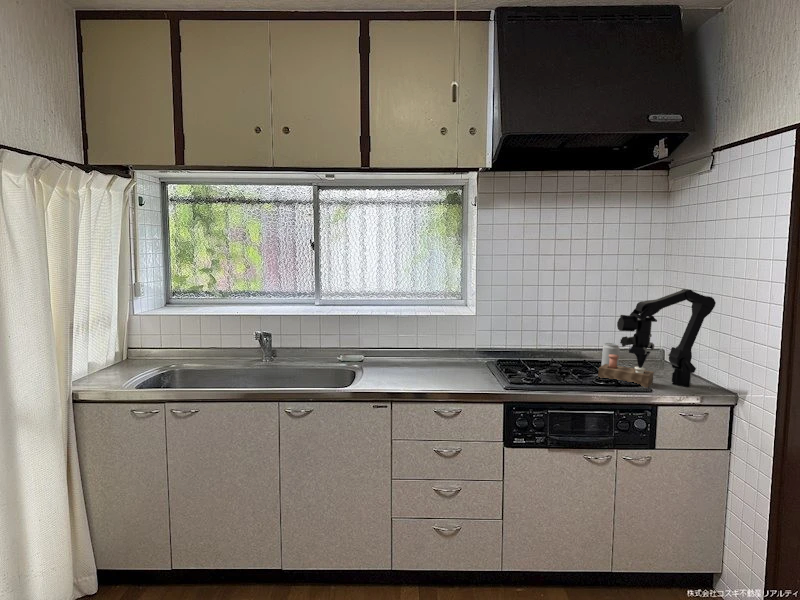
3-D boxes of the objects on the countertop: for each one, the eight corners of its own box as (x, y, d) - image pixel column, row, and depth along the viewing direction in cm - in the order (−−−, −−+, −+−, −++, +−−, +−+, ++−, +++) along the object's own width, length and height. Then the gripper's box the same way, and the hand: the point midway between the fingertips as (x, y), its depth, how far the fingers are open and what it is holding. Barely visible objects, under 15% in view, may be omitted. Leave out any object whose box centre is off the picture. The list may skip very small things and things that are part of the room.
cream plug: (645, 381, 221) (646, 367, 220) (642, 383, 217) (644, 369, 217) (634, 379, 223) (635, 366, 222) (632, 381, 220) (633, 367, 219)
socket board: (652, 383, 221) (653, 371, 221) (647, 387, 214) (648, 375, 213) (604, 374, 234) (605, 363, 233) (597, 378, 226) (598, 367, 225)
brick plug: (619, 368, 227) (620, 355, 226) (616, 370, 223) (617, 356, 223) (609, 367, 229) (610, 353, 229) (606, 368, 226) (607, 355, 225)
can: (615, 371, 241) (617, 345, 240) (599, 368, 246) (601, 343, 245) (619, 368, 247) (621, 343, 246) (603, 365, 252) (605, 341, 251)
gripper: (628, 326, 230) (625, 361, 232) (617, 331, 215) (614, 368, 217) (656, 330, 223) (652, 365, 225) (646, 335, 209) (642, 372, 210)
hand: (640, 367), depth 220 cm, fingers closed, pressing on cream plug
